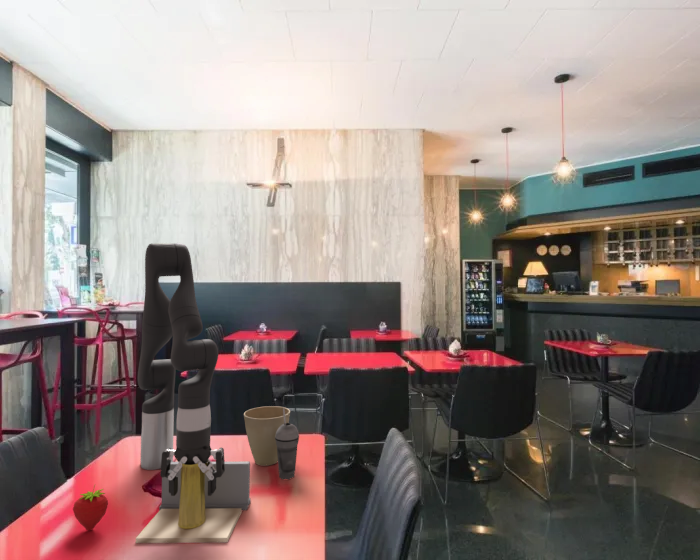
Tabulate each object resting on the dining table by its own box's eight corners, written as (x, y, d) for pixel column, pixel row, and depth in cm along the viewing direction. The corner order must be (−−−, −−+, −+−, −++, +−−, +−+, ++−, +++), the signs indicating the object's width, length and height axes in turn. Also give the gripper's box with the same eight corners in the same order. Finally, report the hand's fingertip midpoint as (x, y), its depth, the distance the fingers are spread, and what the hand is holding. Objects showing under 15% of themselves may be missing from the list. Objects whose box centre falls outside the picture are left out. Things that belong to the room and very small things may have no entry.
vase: (211, 518, 94) (212, 457, 95) (191, 532, 89) (192, 467, 89) (192, 512, 97) (193, 453, 97) (171, 525, 91) (173, 463, 92)
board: (135, 543, 87) (135, 538, 87) (160, 512, 99) (161, 508, 99) (227, 542, 87) (227, 537, 87) (241, 512, 99) (241, 508, 99)
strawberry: (86, 521, 95) (87, 478, 95) (114, 523, 94) (115, 480, 94) (64, 535, 89) (66, 490, 90) (94, 538, 88) (95, 493, 88)
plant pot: (299, 458, 132) (299, 409, 132) (267, 475, 119) (267, 421, 120) (266, 449, 140) (266, 403, 140) (233, 464, 127) (233, 414, 128)
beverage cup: (294, 482, 114) (294, 413, 115) (270, 480, 116) (271, 411, 117) (302, 472, 122) (302, 406, 122) (279, 469, 123) (280, 404, 124)
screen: (159, 510, 100) (160, 466, 100) (166, 502, 104) (167, 459, 104) (246, 510, 100) (247, 465, 100) (250, 502, 104) (250, 459, 104)
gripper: (156, 430, 90) (154, 502, 89) (218, 430, 90) (217, 502, 89) (170, 419, 97) (169, 486, 97) (228, 419, 98) (227, 486, 97)
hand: (192, 494), depth 93 cm, fingers open, 8 cm apart
